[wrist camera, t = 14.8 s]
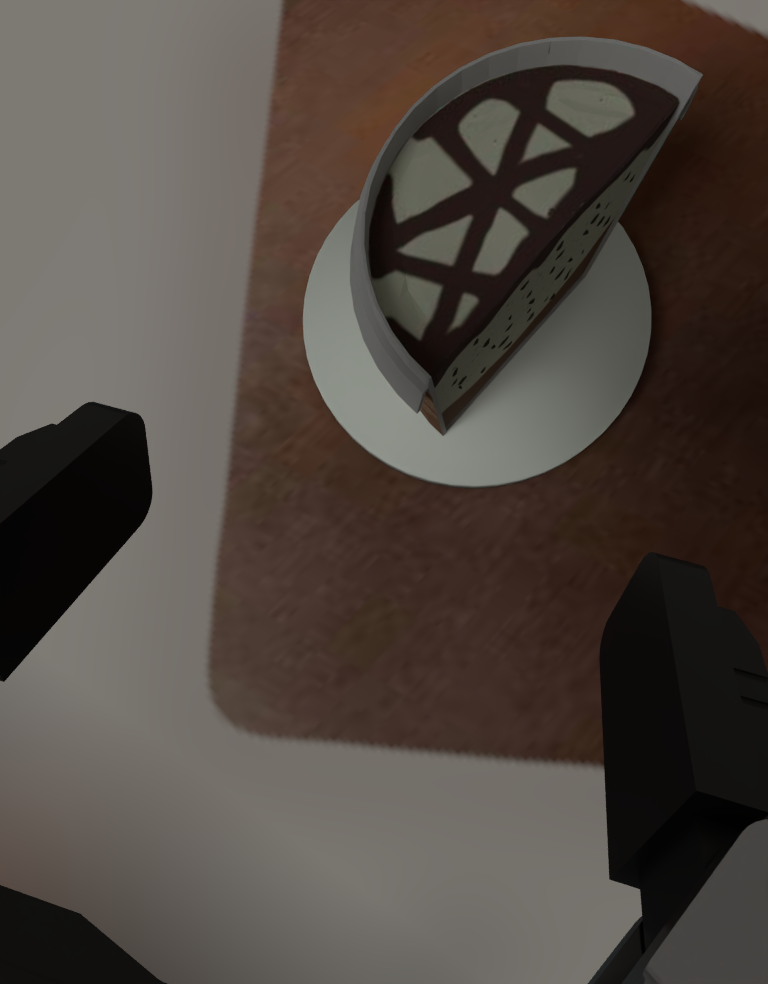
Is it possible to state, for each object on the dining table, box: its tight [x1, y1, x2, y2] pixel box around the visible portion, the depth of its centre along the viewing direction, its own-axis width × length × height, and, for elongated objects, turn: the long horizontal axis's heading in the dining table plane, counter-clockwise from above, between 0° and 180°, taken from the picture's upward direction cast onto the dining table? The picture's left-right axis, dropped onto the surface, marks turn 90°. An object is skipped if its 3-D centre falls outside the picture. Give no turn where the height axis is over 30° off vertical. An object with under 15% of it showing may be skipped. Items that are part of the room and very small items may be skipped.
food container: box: [350, 37, 703, 436], centre depth 22 cm, size 12×6×10 cm, turn 138°
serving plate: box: [303, 200, 651, 489], centre depth 27 cm, size 15×15×1 cm
